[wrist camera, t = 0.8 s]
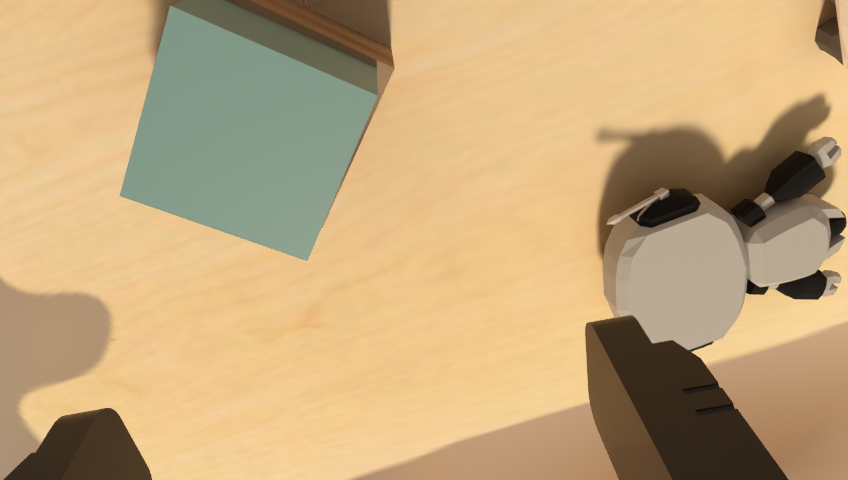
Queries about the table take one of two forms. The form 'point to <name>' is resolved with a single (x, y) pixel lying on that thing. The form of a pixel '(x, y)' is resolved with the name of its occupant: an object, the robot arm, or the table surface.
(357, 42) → the tower base
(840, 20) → the giant panda
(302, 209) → the tower top
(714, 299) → the robot toy
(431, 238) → the table surface
